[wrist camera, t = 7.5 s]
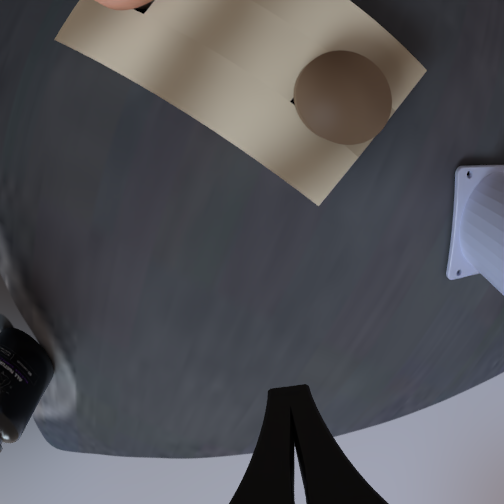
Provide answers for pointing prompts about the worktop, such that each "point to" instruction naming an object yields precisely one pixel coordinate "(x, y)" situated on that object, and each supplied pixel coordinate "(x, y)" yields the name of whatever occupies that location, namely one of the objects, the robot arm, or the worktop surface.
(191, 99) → the board
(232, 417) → the worktop surface
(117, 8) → the terracotta plunger
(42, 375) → the supplement bottle
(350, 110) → the walnut plunger
